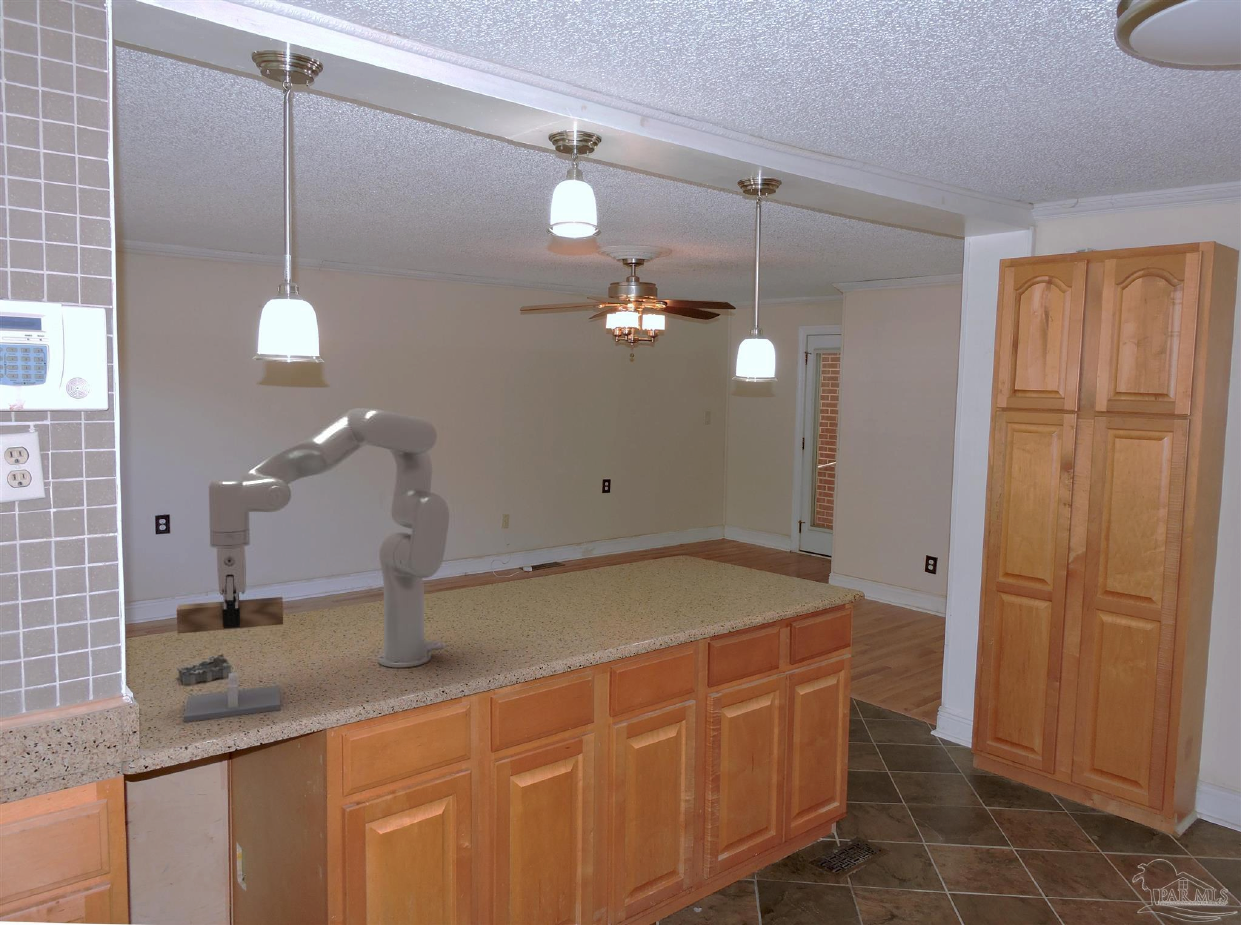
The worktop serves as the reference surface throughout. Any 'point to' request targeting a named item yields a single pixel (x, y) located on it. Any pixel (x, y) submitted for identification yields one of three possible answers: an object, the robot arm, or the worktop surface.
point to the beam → (212, 615)
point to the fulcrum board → (221, 703)
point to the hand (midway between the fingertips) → (232, 623)
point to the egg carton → (205, 670)
